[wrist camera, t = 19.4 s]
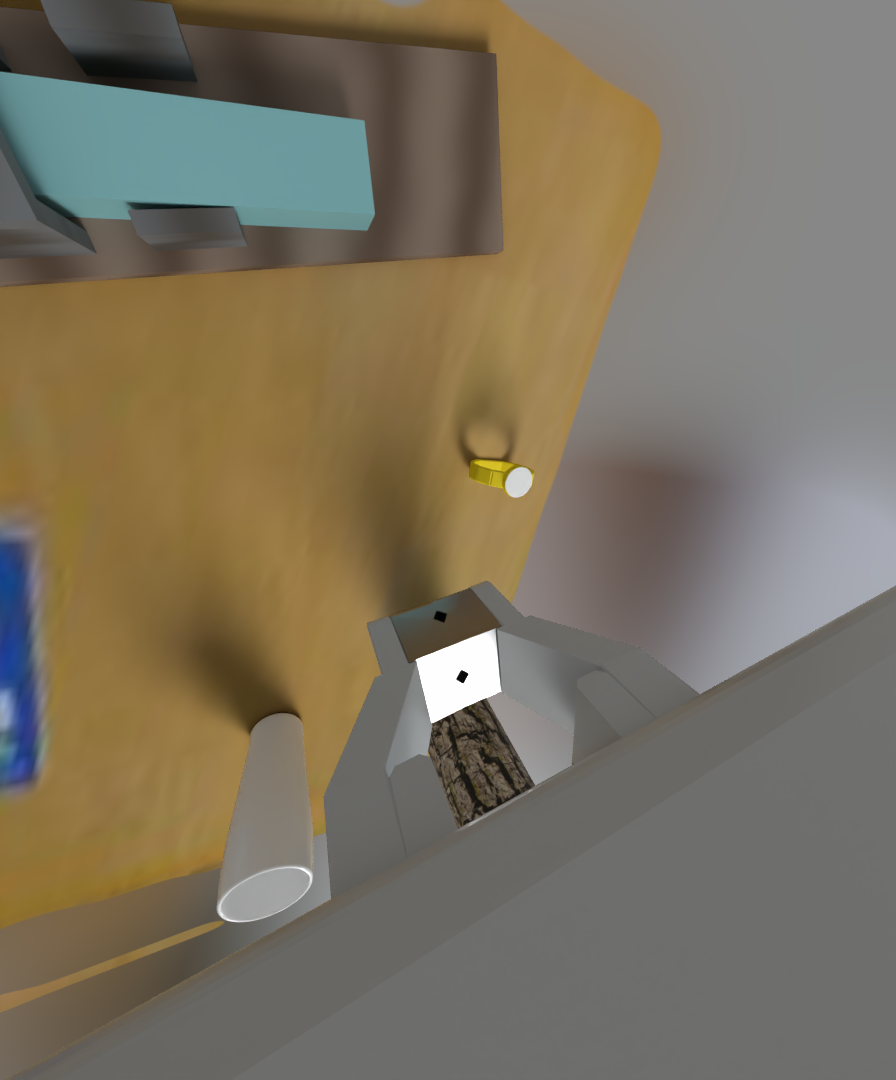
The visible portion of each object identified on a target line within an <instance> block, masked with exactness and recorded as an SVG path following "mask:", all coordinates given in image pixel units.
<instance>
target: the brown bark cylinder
mask: <svg viewBox="0 0 896 1080" xmlns="http://www.w3.org/2000/svg"><path fill="white" fill-rule="evenodd" d="M428 752H429V755H430V757H431V759H432V762H433V765H434V767H435V770H436V772H437V775H438V778H439V780H440V783H441V786H442V788H443V791H444V794H445V796H446V799H447V801H448V804H449V807H450V809H451V812H452V815H453V817H454V820H455V823H456V825H457V828H460V827H462V826H464V825H466V824H467V823H469V822H471V821H473V820H475V819H476V818H478V817H480V816H482V815H484V814H485V813H487V812H489V811H491V810H493V809H494V808H496V807H498V806H500V805H502V804H503V803H505V802H507V801H509V800H511V799H512V798H514V797H516V796H518V795H520V794H521V793H523V792H525V791H527V790H529V789H530V788H532V787H534V786H535V785H534V783H533V781H532V779H531V778H530V776H529V774H528V772H527V770H526V769H525V767H524V765H523V763H522V761H521V760H520V758H519V756H518V754H517V753H516V751H515V749H514V747H513V745H512V744H511V742H510V740H509V738H508V736H507V735H506V733H505V731H504V729H503V727H502V726H501V724H500V722H499V720H498V719H497V717H496V715H495V713H494V712H493V710H492V708H491V706H490V704H489V703H488V701H487V699H486V698H484V699H482V700H480V701H477V702H475V703H472V704H470V705H468V706H465V707H463V708H461V709H459V710H457V711H455V712H453V713H451V714H449V715H447V716H445V717H443V718H441V719H439V720H437V721H435V722H433V723H432V730H431V736H430V742H429V749H428Z"/></svg>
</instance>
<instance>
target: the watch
mask: <svg viewBox="0 0 896 1080" xmlns="http://www.w3.org/2000/svg"><path fill="white" fill-rule="evenodd" d="M469 477H470V478H471V479H473V480H475V481H476V482H479V483H483V484H486V485H491V486H494V487H500V488H502V489H503V490H504V492H505V493H506V494H508V495H509V496H511V497H521V496H523V495H524V494H525V493H527V492H528V490H529V489H530V487H531V486H532V481H533V477H534V471H533V470H532V469H530V468H528V467H526V466H522V465H519V464H514V463H510V462H505V461H494V460H481V459H475V460H472V461H471V463H470V469H469Z"/></svg>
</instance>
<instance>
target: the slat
mask: <svg viewBox="0 0 896 1080" xmlns="http://www.w3.org/2000/svg"><path fill="white" fill-rule="evenodd" d="M0 128H1V130H2V132H3V134H4V136H5V138H6V140H7V142H8V144H9V146H10V148H11V150H12V152H13V154H14V156H15V158H16V160H17V162H18V164H19V166H20V168H21V170H22V172H23V174H24V176H25V178H26V180H27V182H28V184H29V186H30V188H31V190H32V192H33V194H34V196H35V198H36V199H37V200H38V201H40V202H41V203H43V204H44V205H46V206H48V207H49V208H51V209H52V210H54V211H55V212H57V213H59V214H60V215H62V216H63V217H81V218H103V219H125V220H131V218H130V216H129V213H128V211H127V210H146V209H188V208H231V207H234V209H235V212H236V214H237V216H238V219H239V221H240V224H241V225H256V226H278V227H300V228H322V229H344V230H365V231H367V230H368V228H369V226H370V224H371V222H372V220H373V218H374V215H375V210H374V201H373V192H372V184H371V175H370V166H369V157H368V148H367V139H366V131H365V122H364V120H357V119H349V118H342V117H334V116H327V115H319V114H312V113H305V112H297V111H290V110H282V109H275V108H267V107H260V106H252V105H245V104H238V103H230V102H223V101H215V100H208V99H200V98H193V97H185V96H178V95H170V94H163V93H156V92H148V91H141V90H133V89H126V88H118V87H111V86H103V85H96V84H89V83H81V82H74V81H66V80H59V79H51V78H44V77H36V76H29V75H22V74H14V73H7V72H0Z"/></svg>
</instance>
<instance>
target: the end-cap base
mask: <svg viewBox="0 0 896 1080" xmlns="http://www.w3.org/2000/svg"><path fill="white" fill-rule="evenodd" d="M40 1H41V3H42V6H43V8H44V10H45V11H39V10H28V9H18V8H7V7H0V72H7V73H14V74H22V75H29V76H36V77H44V78H51V79H59V80H66V81H74V82H81V83H89V84H96V85H103V86H111V87H118V88H126V89H133V90H141V91H148V92H156V93H163V94H170V95H178V96H185V97H193V98H200V99H208V100H215V101H223V102H230V103H238V104H245V105H252V106H260V107H267V108H275V109H282V110H290V111H297V112H305V113H312V114H319V115H327V116H334V117H342V118H349V119H357V120H364V122H365V131H366V139H367V148H368V157H369V166H370V175H371V184H372V192H373V201H374V210H375V215H374V218H373V220H372V222H371V224H370V226H369V228H368V230H367V231H365V230H344V229H322V228H300V227H278V226H256V225H241V224H240V221H239V219H238V216H237V214H236V212H235V209H234V207H231V208H188V209H146V210H127V211H128V213H129V216H130V218H131V220H125V219H103V218H81V217H63V216H62V215H60V214H59V213H57V212H55V211H54V210H52V209H51V208H49V207H48V206H46V205H44V204H43V203H41V202H40V201H38V200H37V199H36V198H35V196H34V194H33V192H32V190H31V188H30V186H29V184H28V182H27V180H26V178H25V176H24V174H23V172H22V170H21V168H20V166H19V164H18V162H17V160H16V158H15V156H14V154H13V152H12V150H11V148H10V146H9V144H8V142H7V140H6V138H5V136H4V134H3V132H2V130H1V128H0V287H4V286H19V285H34V284H49V283H64V282H79V281H95V280H110V279H125V278H140V277H155V276H170V275H185V274H200V273H215V272H231V271H246V270H261V269H276V268H291V267H306V266H321V265H336V264H352V263H367V262H382V261H397V260H412V259H427V258H442V257H457V256H473V255H488V254H498V253H500V252H501V251H503V226H502V199H501V172H500V145H499V118H498V91H497V64H496V54H494V53H483V52H473V51H462V50H451V49H441V48H430V47H420V46H409V45H399V44H388V43H377V42H367V41H356V40H346V39H335V38H324V37H314V36H303V35H293V34H282V33H272V32H261V31H250V30H240V29H229V28H219V27H208V26H198V25H187V24H178V21H177V18H176V15H175V13H174V10H173V7H172V4H167V3H157V2H148V1H139V0H40Z"/></svg>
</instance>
